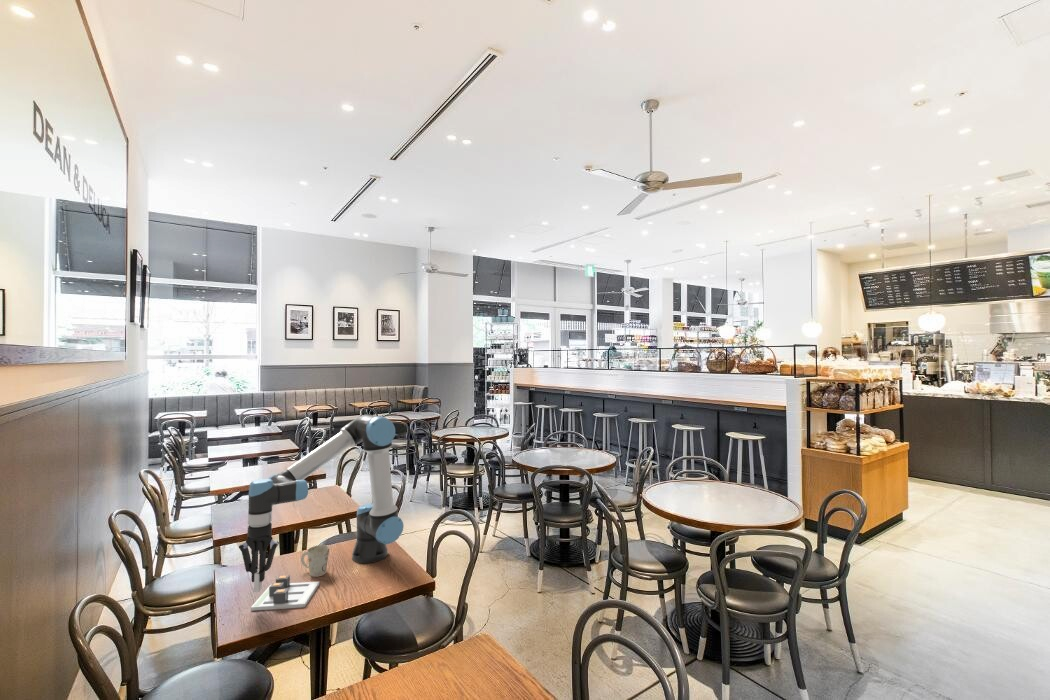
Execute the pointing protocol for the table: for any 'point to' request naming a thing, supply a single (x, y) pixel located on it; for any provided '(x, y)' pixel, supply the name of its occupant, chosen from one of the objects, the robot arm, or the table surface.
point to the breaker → (280, 596)
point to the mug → (316, 559)
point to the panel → (296, 594)
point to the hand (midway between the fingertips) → (257, 590)
